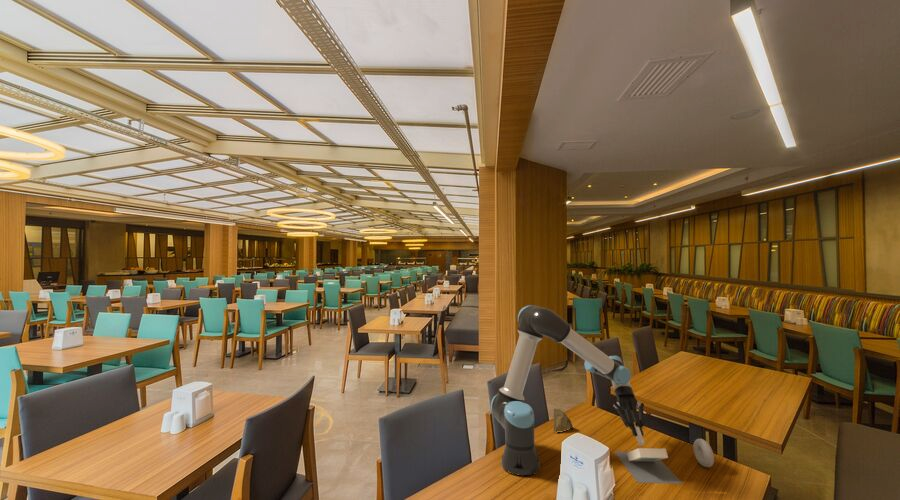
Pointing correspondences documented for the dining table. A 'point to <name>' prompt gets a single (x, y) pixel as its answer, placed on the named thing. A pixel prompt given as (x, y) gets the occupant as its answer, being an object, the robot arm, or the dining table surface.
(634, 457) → the tile
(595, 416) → the dining table surface
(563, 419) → the rock
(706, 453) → the donut
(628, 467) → the mat
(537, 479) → the dining table surface
